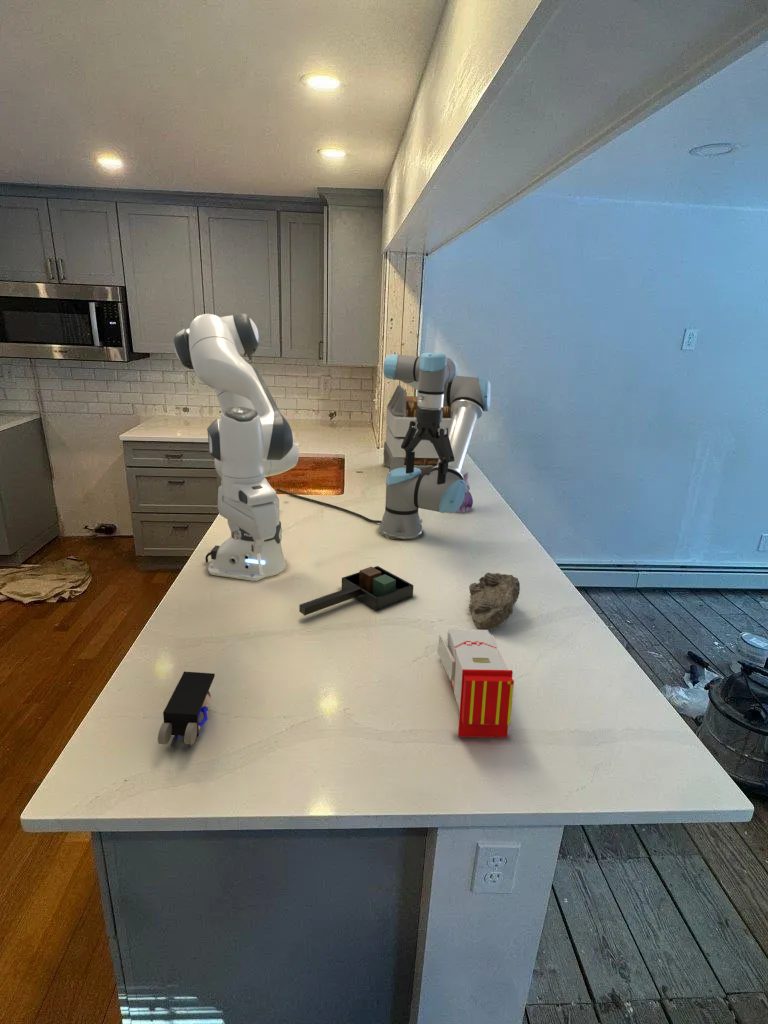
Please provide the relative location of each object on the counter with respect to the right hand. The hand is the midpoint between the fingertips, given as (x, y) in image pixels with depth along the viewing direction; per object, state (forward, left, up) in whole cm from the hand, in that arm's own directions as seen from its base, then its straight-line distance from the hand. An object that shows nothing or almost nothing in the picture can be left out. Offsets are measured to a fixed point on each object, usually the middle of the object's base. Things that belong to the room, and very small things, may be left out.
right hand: (424, 478), depth 172 cm
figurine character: (+30, -88, -27) cm, 97 cm away
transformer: (-72, +70, -27) cm, 103 cm away
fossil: (+36, -8, -27) cm, 46 cm away
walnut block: (+7, -26, -26) cm, 38 cm away
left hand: (+10, -65, -3) cm, 66 cm away
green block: (+13, -26, -26) cm, 39 cm away
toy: (+55, -38, -27) cm, 72 cm away
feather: (-60, -16, -27) cm, 68 cm away
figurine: (-24, +47, -27) cm, 59 cm away
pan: (+10, -35, -27) cm, 45 cm away
